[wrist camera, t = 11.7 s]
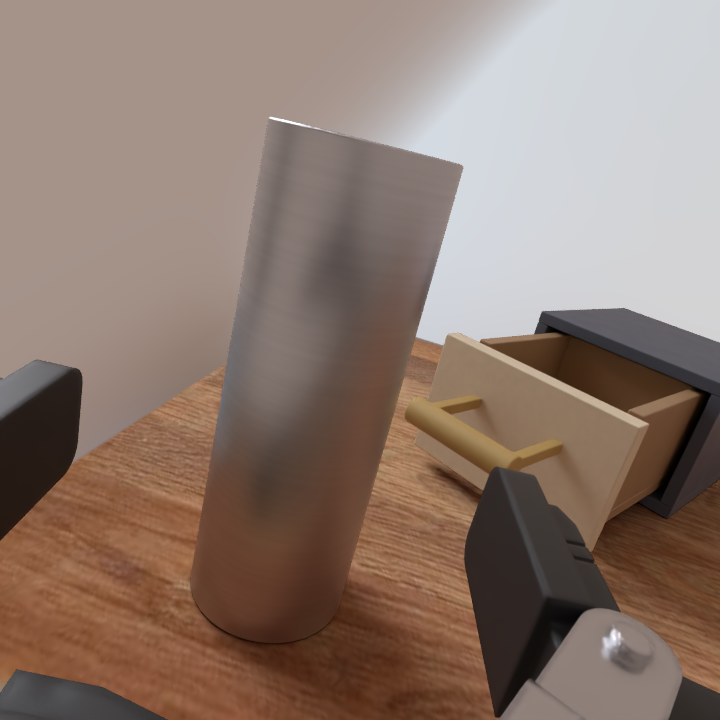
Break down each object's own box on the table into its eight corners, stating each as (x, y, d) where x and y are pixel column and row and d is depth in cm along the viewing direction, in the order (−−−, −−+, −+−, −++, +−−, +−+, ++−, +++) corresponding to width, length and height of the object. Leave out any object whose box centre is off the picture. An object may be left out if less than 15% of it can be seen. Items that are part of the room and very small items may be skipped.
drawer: (523, 599, 25) (586, 450, 22) (347, 462, 32) (380, 338, 30) (675, 493, 38) (724, 392, 36) (526, 413, 45) (559, 324, 43)
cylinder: (162, 560, 23) (229, 106, 18) (284, 519, 27) (369, 142, 22) (244, 671, 19) (363, 138, 14) (370, 605, 24) (502, 175, 18)
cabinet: (667, 519, 36) (731, 387, 33) (501, 424, 44) (541, 311, 41) (730, 470, 47) (784, 366, 44) (586, 400, 55) (623, 307, 52)
